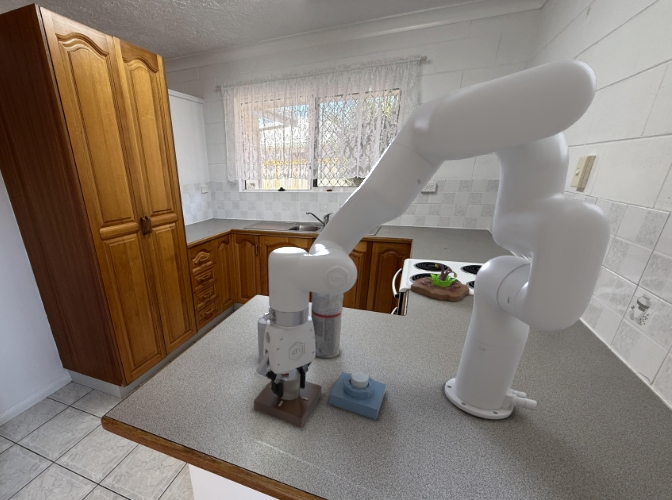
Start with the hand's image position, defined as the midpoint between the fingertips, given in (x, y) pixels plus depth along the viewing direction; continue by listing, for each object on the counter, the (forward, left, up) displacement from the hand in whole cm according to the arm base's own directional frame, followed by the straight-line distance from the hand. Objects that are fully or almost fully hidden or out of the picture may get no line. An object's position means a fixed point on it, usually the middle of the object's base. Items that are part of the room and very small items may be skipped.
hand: (288, 388), depth 67 cm
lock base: (0, 0, -4) cm, 4 cm away
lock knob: (0, 0, -1) cm, 1 cm away
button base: (-13, -8, -4) cm, 16 cm away
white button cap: (-13, -8, +1) cm, 15 cm away
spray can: (0, -23, -4) cm, 23 cm away
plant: (-25, -87, -4) cm, 91 cm away
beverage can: (+12, -12, -4) cm, 17 cm away
